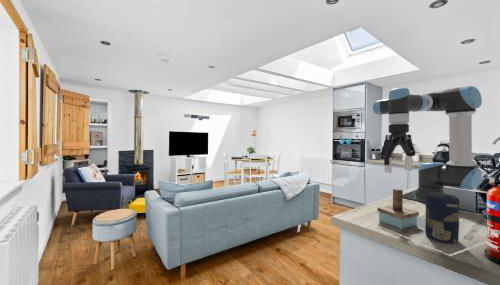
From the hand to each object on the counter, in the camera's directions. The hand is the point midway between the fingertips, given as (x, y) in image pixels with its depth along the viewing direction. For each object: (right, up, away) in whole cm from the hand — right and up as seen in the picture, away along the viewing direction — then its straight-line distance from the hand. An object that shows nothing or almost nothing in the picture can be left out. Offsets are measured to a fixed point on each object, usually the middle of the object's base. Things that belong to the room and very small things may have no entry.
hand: (398, 171), depth 98 cm
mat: (+10, -23, +1) cm, 26 cm away
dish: (-1, -24, -1) cm, 24 cm away
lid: (-1, -19, -1) cm, 19 cm away
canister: (+6, -24, -15) cm, 29 cm away
